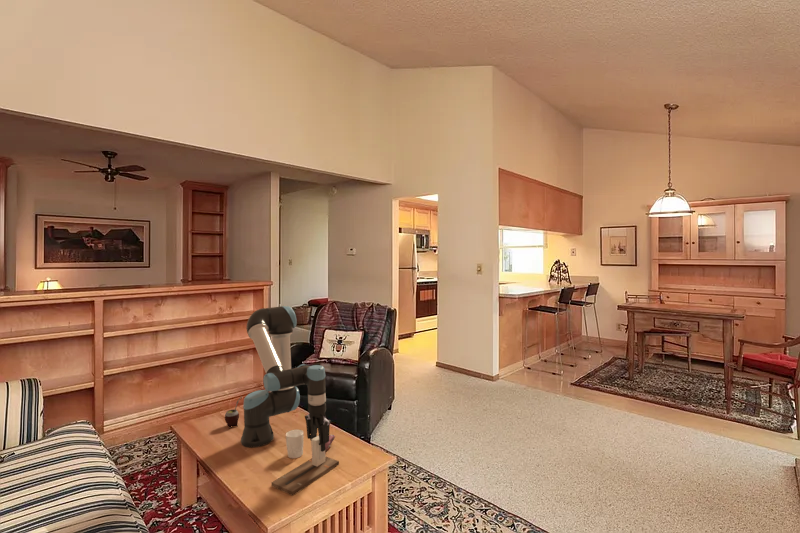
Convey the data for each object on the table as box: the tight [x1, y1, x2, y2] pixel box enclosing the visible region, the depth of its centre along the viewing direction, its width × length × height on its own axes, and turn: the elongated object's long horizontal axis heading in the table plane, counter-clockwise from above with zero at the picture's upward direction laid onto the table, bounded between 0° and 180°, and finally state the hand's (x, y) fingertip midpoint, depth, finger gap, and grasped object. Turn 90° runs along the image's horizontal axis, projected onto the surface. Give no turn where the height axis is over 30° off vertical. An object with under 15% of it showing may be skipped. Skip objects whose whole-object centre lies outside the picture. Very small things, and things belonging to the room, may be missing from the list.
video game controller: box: [325, 434, 336, 451], centre depth 189 cm, size 10×5×7 cm, turn 170°
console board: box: [271, 455, 340, 497], centre depth 166 cm, size 12×26×2 cm, turn 146°
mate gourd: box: [224, 396, 243, 428], centre depth 216 cm, size 8×8×15 cm
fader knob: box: [310, 434, 326, 466], centre depth 172 cm, size 3×5×11 cm, turn 146°
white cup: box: [285, 429, 304, 459], centre depth 183 cm, size 8×8×10 cm
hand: (318, 456), depth 172 cm, fingers closed on fader knob, 3 cm apart
